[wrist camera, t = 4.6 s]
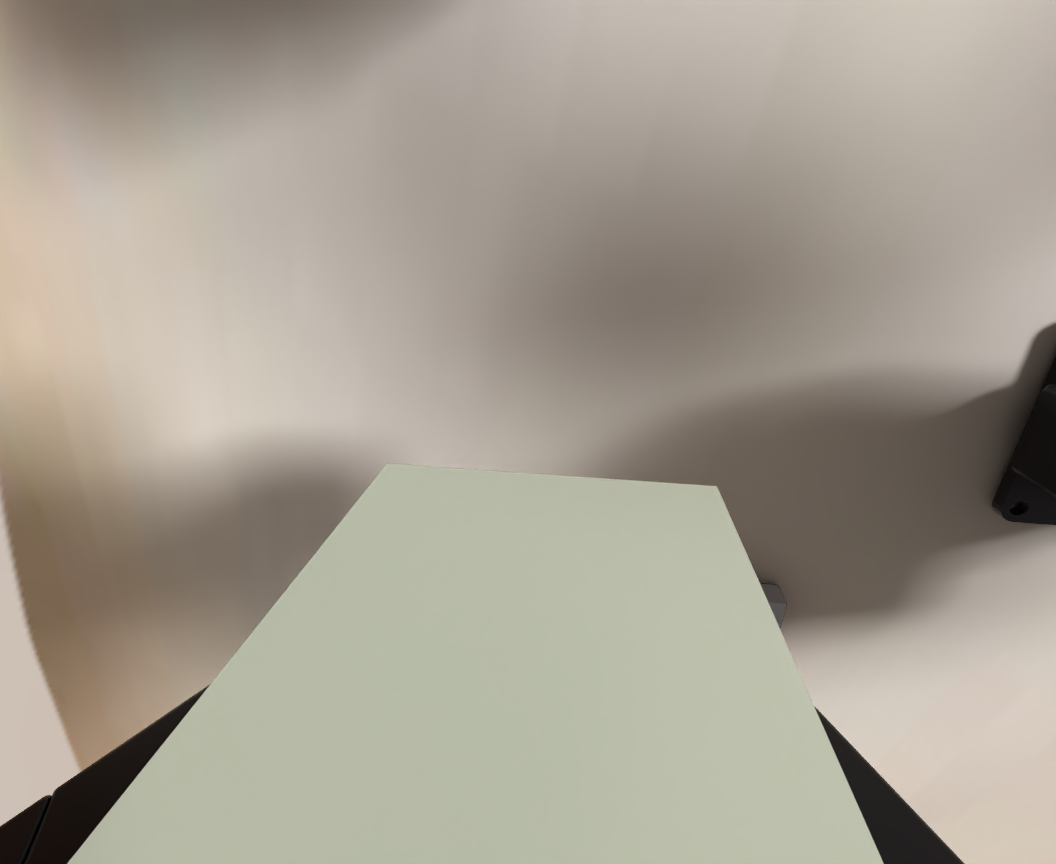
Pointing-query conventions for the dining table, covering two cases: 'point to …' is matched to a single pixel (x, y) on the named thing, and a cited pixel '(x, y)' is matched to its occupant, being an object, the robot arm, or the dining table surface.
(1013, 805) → the dining table surface
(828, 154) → the dining table surface
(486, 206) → the dining table surface
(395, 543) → the block
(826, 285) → the dining table surface
